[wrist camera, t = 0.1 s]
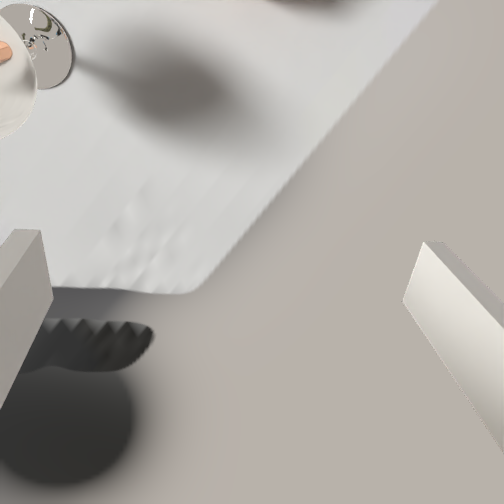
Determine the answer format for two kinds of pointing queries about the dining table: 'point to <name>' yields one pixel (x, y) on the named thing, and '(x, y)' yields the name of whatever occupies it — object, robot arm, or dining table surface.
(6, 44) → the wineglass
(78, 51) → the dining table surface
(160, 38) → the dining table surface
